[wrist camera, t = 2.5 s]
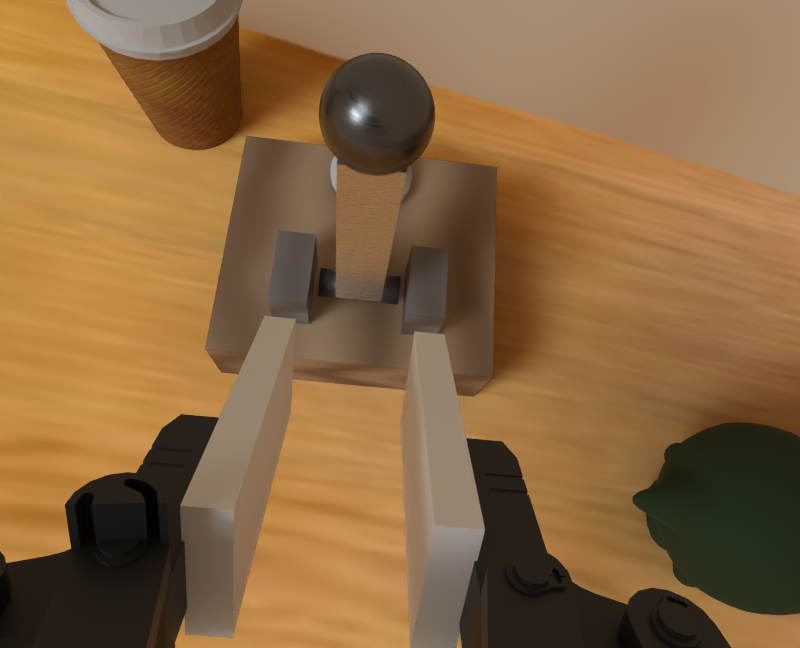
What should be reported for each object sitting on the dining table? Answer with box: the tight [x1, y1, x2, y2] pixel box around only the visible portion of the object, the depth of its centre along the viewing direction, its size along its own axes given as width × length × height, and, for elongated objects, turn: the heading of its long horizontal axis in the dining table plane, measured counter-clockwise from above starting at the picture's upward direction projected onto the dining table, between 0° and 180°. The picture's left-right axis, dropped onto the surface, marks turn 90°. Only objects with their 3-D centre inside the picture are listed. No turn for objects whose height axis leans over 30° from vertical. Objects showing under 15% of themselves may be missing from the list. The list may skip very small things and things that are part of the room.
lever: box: [318, 53, 435, 305], centre depth 26 cm, size 4×4×17 cm
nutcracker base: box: [205, 136, 497, 396], centre depth 36 cm, size 16×14×8 cm
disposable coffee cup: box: [67, 0, 243, 150], centre depth 37 cm, size 10×10×12 cm
